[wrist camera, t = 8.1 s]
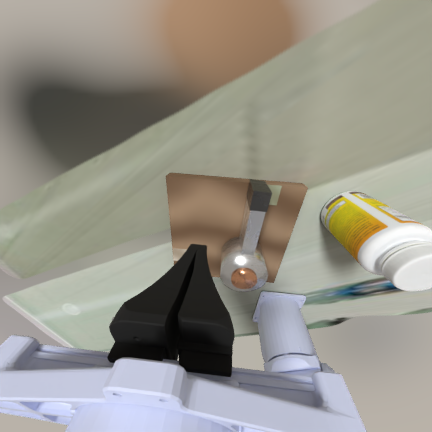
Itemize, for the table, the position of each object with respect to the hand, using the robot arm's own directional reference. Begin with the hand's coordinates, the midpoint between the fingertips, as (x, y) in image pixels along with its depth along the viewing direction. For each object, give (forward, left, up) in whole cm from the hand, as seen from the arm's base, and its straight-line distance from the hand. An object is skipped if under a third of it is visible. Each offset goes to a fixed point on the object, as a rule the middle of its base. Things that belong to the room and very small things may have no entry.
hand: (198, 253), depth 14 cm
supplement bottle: (+1, -17, -9) cm, 19 cm away
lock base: (-4, -3, -9) cm, 10 cm away
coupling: (-2, -5, -7) cm, 9 cm away
